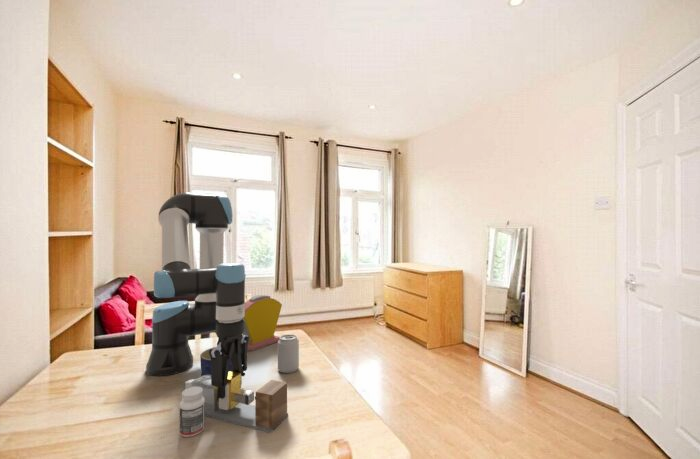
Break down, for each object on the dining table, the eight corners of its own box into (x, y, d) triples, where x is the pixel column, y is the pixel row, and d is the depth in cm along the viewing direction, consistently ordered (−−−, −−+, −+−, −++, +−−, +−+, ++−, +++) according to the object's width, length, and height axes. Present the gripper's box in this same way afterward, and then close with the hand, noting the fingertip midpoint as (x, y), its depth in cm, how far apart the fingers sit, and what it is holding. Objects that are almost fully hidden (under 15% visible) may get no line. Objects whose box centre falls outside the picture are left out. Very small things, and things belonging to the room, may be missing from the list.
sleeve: (191, 409, 89) (191, 381, 89) (206, 399, 94) (206, 373, 94) (214, 414, 86) (214, 386, 86) (228, 404, 91) (228, 377, 91)
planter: (249, 381, 105) (249, 348, 105) (220, 399, 94) (220, 362, 94) (222, 374, 110) (222, 343, 111) (191, 390, 99) (191, 355, 99)
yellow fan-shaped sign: (272, 335, 153) (272, 290, 153) (285, 339, 147) (285, 292, 148) (231, 349, 135) (232, 298, 135) (245, 353, 129) (245, 301, 130)
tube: (182, 398, 91) (183, 370, 91) (194, 391, 94) (194, 364, 94) (246, 413, 83) (246, 382, 83) (255, 405, 87) (255, 376, 87)
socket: (254, 427, 80) (254, 391, 80) (270, 412, 87) (270, 379, 87) (272, 431, 79) (272, 395, 79) (287, 416, 85) (287, 382, 85)
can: (301, 365, 118) (301, 333, 118) (295, 374, 110) (295, 340, 110) (281, 365, 118) (281, 332, 118) (274, 373, 111) (274, 339, 111)
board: (187, 411, 87) (187, 409, 87) (209, 397, 95) (209, 395, 95) (271, 432, 78) (271, 430, 78) (288, 415, 86) (288, 413, 86)
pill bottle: (185, 424, 82) (185, 385, 82) (208, 423, 82) (208, 384, 82) (175, 438, 76) (175, 397, 76) (199, 437, 76) (199, 396, 76)
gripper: (218, 329, 78) (218, 424, 78) (260, 313, 94) (260, 391, 94) (195, 326, 81) (194, 418, 81) (240, 311, 97) (239, 387, 97)
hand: (230, 403), depth 87 cm, fingers closed on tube, 4 cm apart
